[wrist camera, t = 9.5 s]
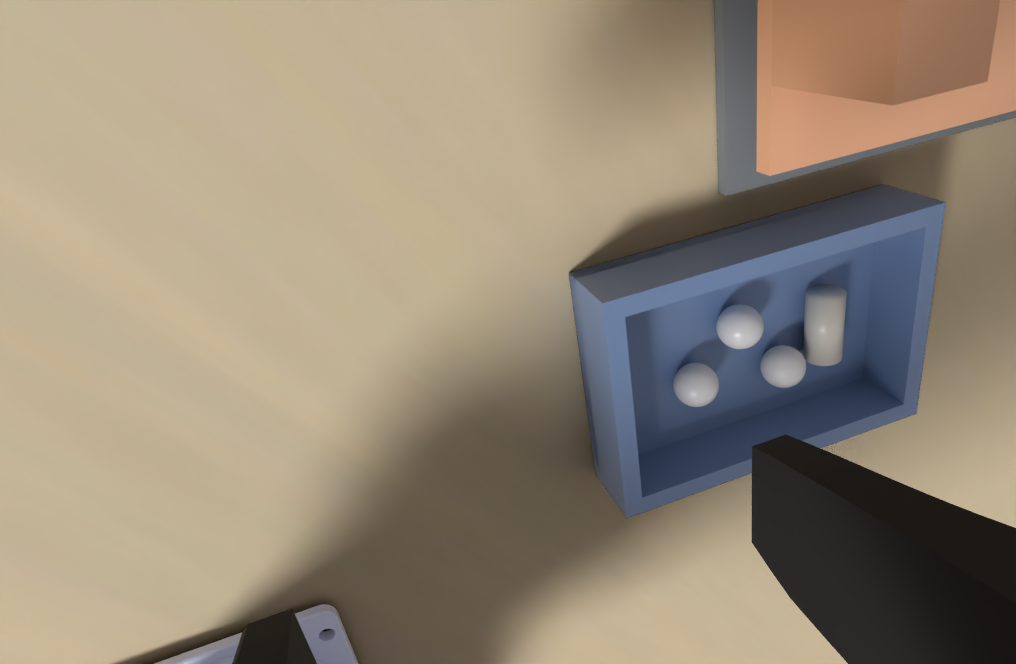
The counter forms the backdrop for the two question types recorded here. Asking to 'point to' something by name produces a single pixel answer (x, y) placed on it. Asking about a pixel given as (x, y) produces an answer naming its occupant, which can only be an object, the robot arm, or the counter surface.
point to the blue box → (754, 340)
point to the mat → (740, 105)
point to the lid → (876, 73)
